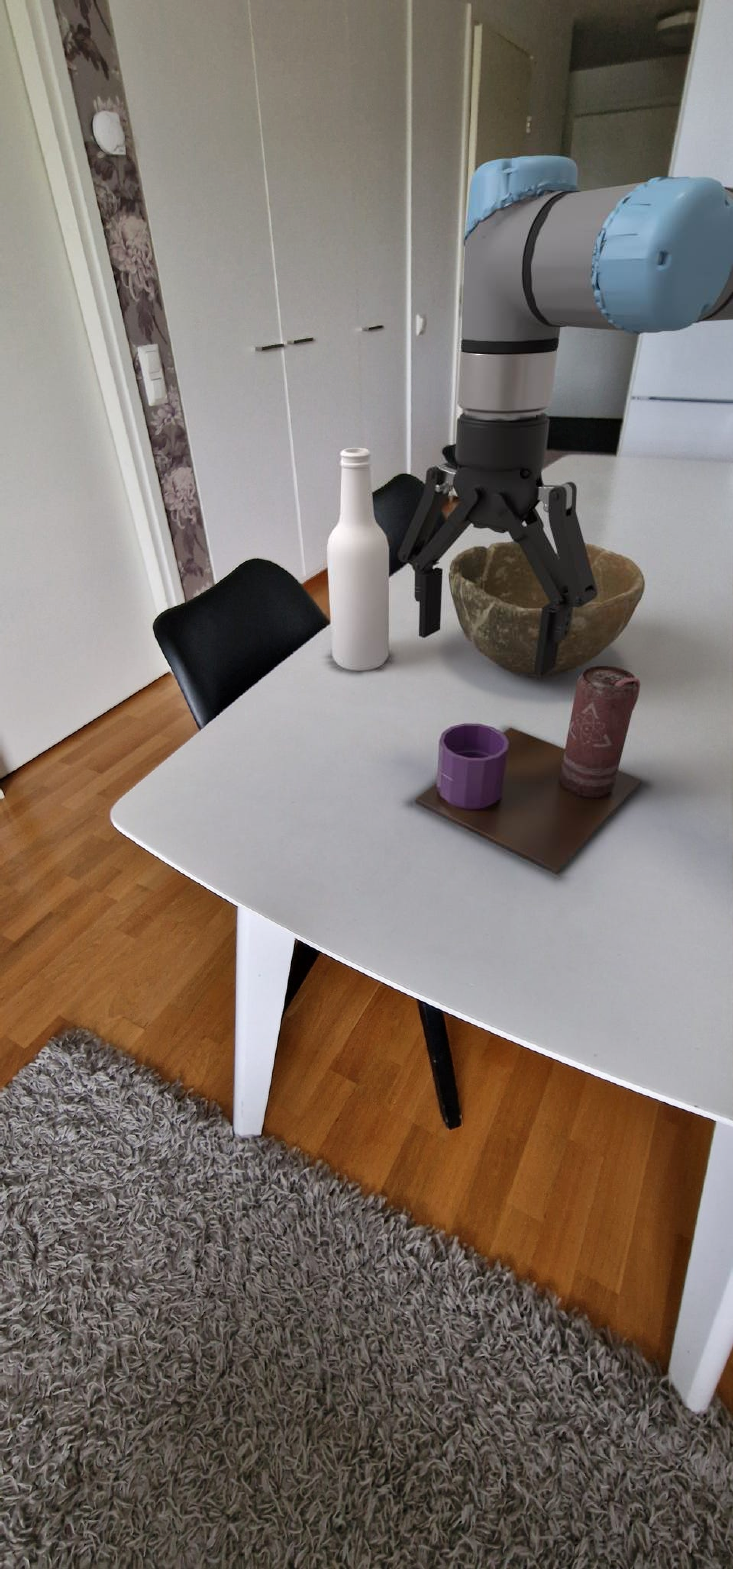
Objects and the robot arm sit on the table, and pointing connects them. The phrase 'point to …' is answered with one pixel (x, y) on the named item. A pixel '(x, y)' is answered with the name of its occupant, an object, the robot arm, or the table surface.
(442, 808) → the placemat
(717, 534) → the table surface
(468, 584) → the bowl
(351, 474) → the alcohol
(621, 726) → the can
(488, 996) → the table surface
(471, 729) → the purple faceted cup
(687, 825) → the table surface
